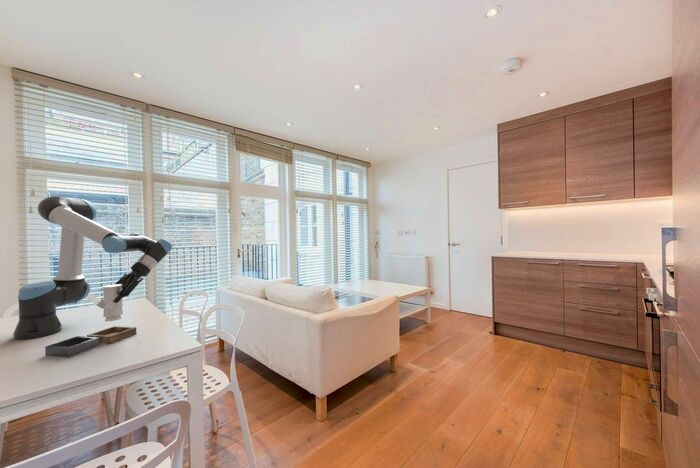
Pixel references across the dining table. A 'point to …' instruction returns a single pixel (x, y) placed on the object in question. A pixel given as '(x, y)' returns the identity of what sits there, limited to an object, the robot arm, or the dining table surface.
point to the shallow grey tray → (71, 346)
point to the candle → (108, 295)
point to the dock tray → (113, 334)
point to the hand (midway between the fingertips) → (103, 307)
